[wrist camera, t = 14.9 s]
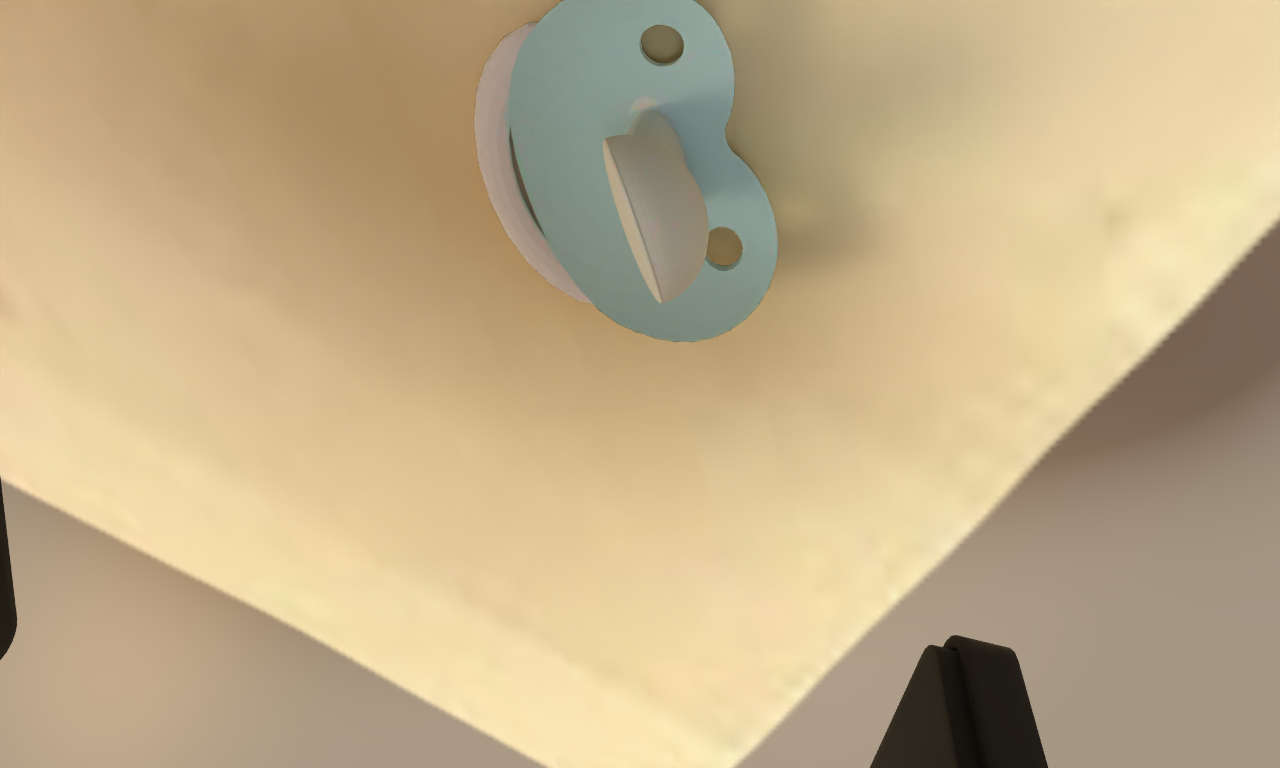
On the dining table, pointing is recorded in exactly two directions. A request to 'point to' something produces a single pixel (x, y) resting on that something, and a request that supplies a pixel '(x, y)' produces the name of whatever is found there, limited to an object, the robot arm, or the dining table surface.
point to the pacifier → (625, 166)
